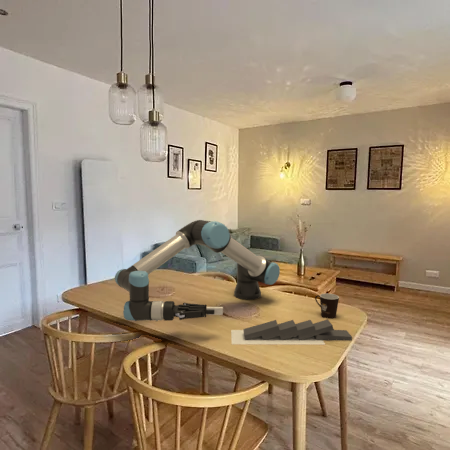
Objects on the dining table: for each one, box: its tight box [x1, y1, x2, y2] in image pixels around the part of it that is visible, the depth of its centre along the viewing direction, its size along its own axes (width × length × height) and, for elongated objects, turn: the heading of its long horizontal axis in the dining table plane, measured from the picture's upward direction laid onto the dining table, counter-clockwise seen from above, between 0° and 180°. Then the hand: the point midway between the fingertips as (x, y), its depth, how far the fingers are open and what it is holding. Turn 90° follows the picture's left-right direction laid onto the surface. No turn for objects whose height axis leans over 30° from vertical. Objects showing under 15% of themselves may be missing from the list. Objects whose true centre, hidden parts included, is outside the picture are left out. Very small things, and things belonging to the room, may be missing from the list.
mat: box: [230, 329, 326, 346], centre depth 131 cm, size 13×36×1 cm, turn 90°
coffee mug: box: [314, 293, 340, 320], centre depth 155 cm, size 12×9×10 cm
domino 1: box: [242, 319, 280, 340], centre depth 131 cm, size 2×6×14 cm
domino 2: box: [262, 319, 298, 340], centre depth 131 cm, size 2×6×14 cm
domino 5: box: [314, 329, 353, 341], centre depth 131 cm, size 2×6×14 cm
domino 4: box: [298, 318, 335, 340], centre depth 131 cm, size 2×6×14 cm
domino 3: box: [280, 319, 315, 340], centre depth 131 cm, size 2×6×14 cm
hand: (222, 310), depth 130 cm, fingers closed
